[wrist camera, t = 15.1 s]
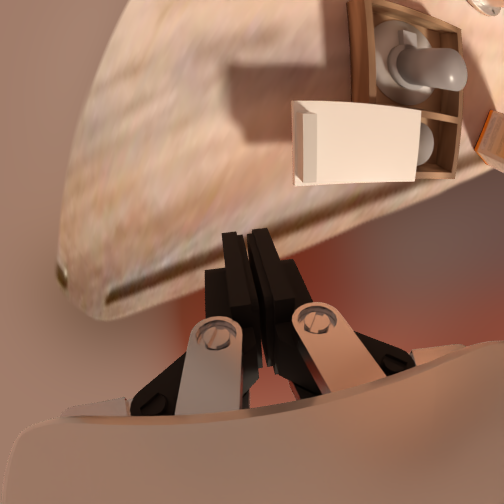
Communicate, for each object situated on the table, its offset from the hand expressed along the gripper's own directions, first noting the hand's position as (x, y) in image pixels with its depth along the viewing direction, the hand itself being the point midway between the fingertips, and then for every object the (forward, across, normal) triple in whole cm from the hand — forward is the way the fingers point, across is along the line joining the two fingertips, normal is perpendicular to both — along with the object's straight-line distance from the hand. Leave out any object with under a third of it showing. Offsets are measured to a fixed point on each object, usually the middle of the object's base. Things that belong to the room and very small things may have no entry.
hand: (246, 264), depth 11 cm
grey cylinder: (+20, -21, -10) cm, 31 cm away
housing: (+20, -21, -7) cm, 30 cm away
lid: (+16, -13, -1) cm, 21 cm away
